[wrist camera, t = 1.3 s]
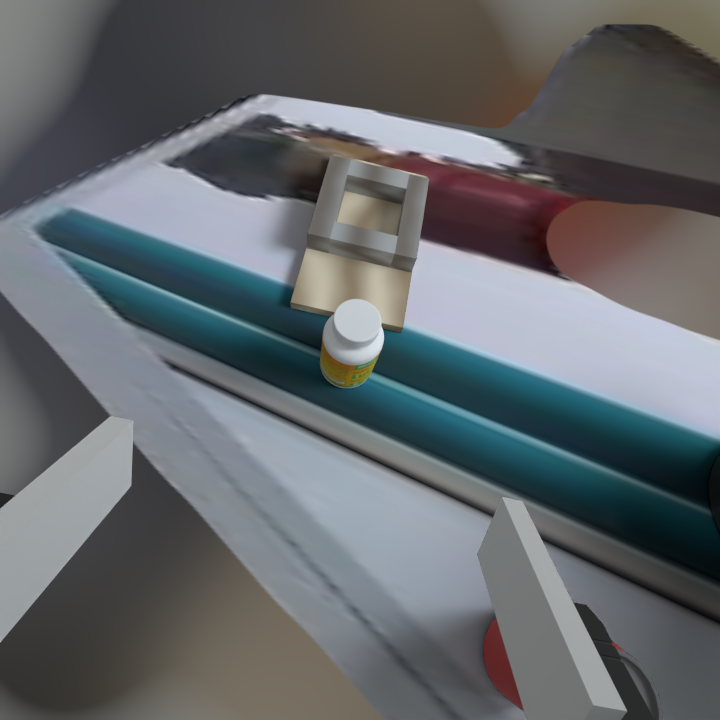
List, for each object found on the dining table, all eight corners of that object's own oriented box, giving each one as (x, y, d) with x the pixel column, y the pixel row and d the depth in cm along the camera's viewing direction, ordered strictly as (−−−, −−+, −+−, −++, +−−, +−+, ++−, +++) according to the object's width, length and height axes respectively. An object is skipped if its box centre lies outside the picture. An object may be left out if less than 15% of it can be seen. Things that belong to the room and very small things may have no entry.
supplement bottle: (350, 400, 42) (364, 362, 33) (308, 367, 42) (310, 322, 33) (382, 361, 44) (403, 316, 35) (341, 331, 44) (351, 279, 36)
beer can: (467, 672, 34) (547, 737, 23) (497, 591, 37) (581, 614, 26) (541, 719, 33) (659, 808, 22) (565, 633, 36) (682, 675, 25)
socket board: (424, 183, 54) (432, 160, 51) (400, 332, 45) (408, 316, 42) (333, 161, 54) (335, 136, 50) (290, 307, 45) (289, 289, 41)
